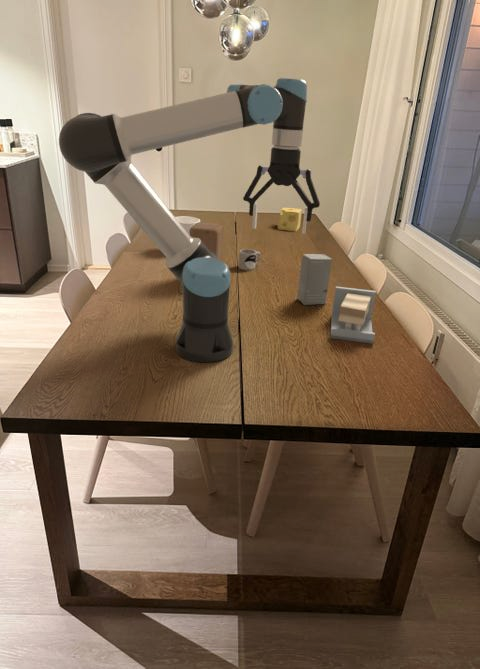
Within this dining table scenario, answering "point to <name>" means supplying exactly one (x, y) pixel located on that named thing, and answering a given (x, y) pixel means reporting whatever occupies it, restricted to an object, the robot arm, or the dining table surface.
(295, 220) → the cheese
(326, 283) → the skincare box
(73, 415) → the dining table surface
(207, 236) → the wooden block
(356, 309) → the slab
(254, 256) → the mug
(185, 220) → the cup
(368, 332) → the cradle
